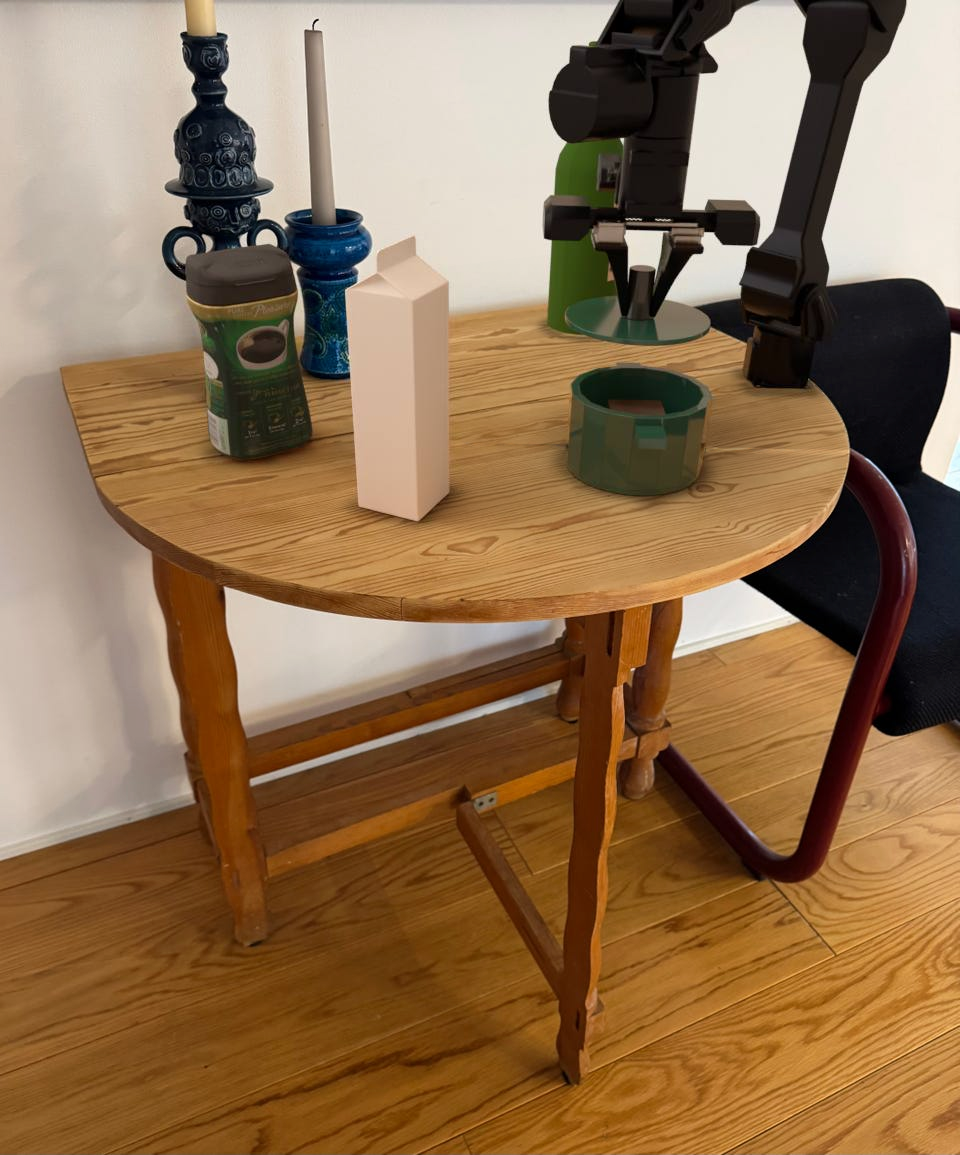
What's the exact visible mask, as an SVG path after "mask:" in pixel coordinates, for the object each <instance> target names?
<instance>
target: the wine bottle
mask: <svg viewBox="0 0 960 1155" xmlns="http://www.w3.org/2000/svg"><path fill="white" fill-rule="evenodd" d="M597 41H598V40H596V41H595V40H593V41H589V42H588V46H595V44H596V42H597ZM600 153H610V154H619V155H620V162H622V154H623V141H622V138H620V139H610V140H601V141H592V142H583V143H573V144H572V143H567V142H566V143H565V145H564V146H563V148H562V149H561V151H560V153H559V155H558V158H557V162H556V166H555V172H554V173H555V175H554V191H553V195H566V196H587V197H588V200H589V204H590V207H615V208H617V207H618V205H616V204H615V202H614V194H615V193H606V192H597V189H596V186H597V171H598V160H599V155H600ZM591 231H592V229H589V233H588V234H587V235H586V236H585V237H583V238H582V239H581V240H580V241H557V240H551V245H550V246H551V247H550V262H549V281H548V282H549V283H548V297H547V298H548V299H547V300H548V302H547V319H546V324H547V326H548V327H549V328H550V329H552V330H554V331H556V332H559V333H563V334H569V335H575V336H576V335H577V336H584V335H583V334H581V333H579V332H577V331H575V330H573V329H572V328H571V327H569V326H568V324H567V323H566V321H565V312H566V310H567V309H568V308H569V307H570V306H571V305H573V304H575V303H577V302H580V301H583V300H587V299H592V298H598V297H607V296H617V292H616V287H615V283H614V278H613V273H612V269H611V266H610V263H609V260H608V257H607V254H606V253H605V252H599V251H595V250H594V247H593V243H592V240H591Z"/></svg>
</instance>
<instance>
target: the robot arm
mask: <svg viewBox="0 0 960 1155" xmlns="http://www.w3.org/2000/svg"><path fill="white" fill-rule="evenodd" d="M759 1H760V0H618V2H617V4H616V6H615V7H614V10H613V11H612V13H611V15H610V16H609V18H608V20H607V22H606V24H605V26H604V28H603V30H602V31H601V34H600V35H599V37H598V39H597V40H596V41H597V42H596V44H595V46H589V45H585V44H583V45H582V44H577V45H576V44H574V45H571V46H570V47H569V57H568V63H566V64H565V65H564V66H563V67H562V68H560V70H559V72H558V73H557V74H556V76H555V78H554V81H553V84H552V87H551V89H550V90H549V92H548V100H547V102H548V114H549V119H550V123H551V125H552V128H553V129H554V131H555V133H556V135H557V136H558V137H559V138H560V140H562V141H564V142H566V143H572V144H573V143H583V142H592V141H601V140H610V139H623V142H622V144H623V154H622V162H620V155H619V154H610V153H600V155H599V160H598V171H597V186H596V189H597V192H606V193H615V194H614V202H615V204H616V205H618V207H617V208H615V207H590V204H589V200H588V197H587V196H566V195H554V194H550V195H549V196H548V197H547V198H546V199H545V200H544V201H543V205H542V206H543V207H542V234H543V240H547V241H552V240H557V241H580V240H581V239H582V238H583V237H585V236H586V235H587V234H588V233H589V229H592V231H591V240H592V243H593V247H594V250H595V251H599V252H605V253H606V254H607V257H608V260H609V263H610V266H611V269H612V273H613V278H614V283H615V287H616V292H617V297H618V302H619V307H620V312H621V316H624V317H625V316H626V312H627V306H628V278H629V245H628V242H627V241H626V238H625V236H626V232H627V231H644V232H646V231H647V232H662V240H661V248H660V257H659V260H658V265H657V269H656V273H655V282H654V290H653V299H652V307H651V317H655V316H656V315H657V313H658V311H659V309H660V307H661V305H662V303H663V301H664V299H665V300H666V297H667V296H668V294H669V292H670V291H671V288H672V287H673V284H674V283H675V281H676V279H677V278H678V276H679V275H680V274H681V272H682V271H683V269H684V268H685V267H686V265H687V263H688V262H689V261H690V259H691V258H692V256H695V255H703V254H704V252H705V247H704V245H703V243H702V238H704V236H705V233H710V234H711V233H712V234H713V235H714V236H715V237H716V239H717V240H718V241H719V242H720V244H721V245H722V246H734V247H735V246H736V247H737V246H738V247H750V248H749V250H748V252H747V253H746V258H745V264H744V270H743V272H742V276H741V278H740V280H739V283H738V285H739V286H740V302H741V311H742V323H744V324H746V325H752V326H754V327H753V328H754V329H753V335H752V337H748V338H747V341H746V347H745V353H744V359H743V363H742V371H741V372H742V374H743V376H744V377H745V378H746V380H747V381H748V382H750V383H751V385H752V387H754V388H756V389H779V390H780V389H781V390H782V389H784V390H786V389H788V390H812V389H813V386H812V385H811V384H810V382H809V379H810V374H811V369H812V364H813V359H814V355H815V350H816V345H817V342H825V341H826V338H827V337H829V336H831V334H832V332H833V330H834V328H835V325H836V323H837V320H838V318H839V316H838V313H837V312H836V310H835V308H834V306H833V303H832V300H831V299H830V297H829V295H828V293H827V286H828V279H829V273H830V263H829V260H828V257H827V253H826V249H825V246H824V241H823V236H824V230H825V227H826V224H827V220H828V216H829V211H830V208H831V204H832V200H833V197H834V194H835V188H836V187H837V182H838V179H839V176H840V175H839V174H840V171H841V167H842V164H843V160H844V156H845V153H846V148H847V144H848V142H849V138H850V134H851V130H852V128H853V127H852V126H853V123H854V119H855V116H856V111H857V108H858V104H859V100H860V98H861V93H862V90H863V86H864V83H865V82H866V80H868V78H869V77H870V76H871V75H872V73H874V71H875V70H876V69H877V68H878V67H879V65H880V64H881V63H882V62H883V61H884V60H885V58H886V57H887V56H888V55H889V53H890V51H891V48H892V46H893V43H894V41H895V38H896V35H897V32H898V30H899V27H900V25H901V23H902V21H903V19H904V17H905V13H906V9H907V5H908V4H907V3H908V2H907V1H908V0H793V2H794V4H795V5H796V6H797V9H799V11H800V13H801V14H802V15H803V17H804V19H805V20H804V28H803V34H802V42H801V43H802V49H803V52H804V57H805V60H806V63H807V68H808V71H809V74H810V77H809V83H808V86H807V91H806V95H805V99H804V104H803V107H802V111H801V115H800V120H799V124H798V126H797V127H798V128H797V132H796V136H795V140H794V144H793V149H792V152H791V155H790V156H791V157H790V160H789V165H788V168H787V173H786V177H785V181H784V186H783V190H782V193H781V198H780V201H779V206H778V210H777V214H776V219H775V222H774V227H773V228H772V231H771V233H770V234H769V235H768V236H767V237H766V238H765V240H764V241H763V242H762V243H761V244H760V245H759V246H758V247H757V246H756V245H758V241H759V235H760V230H761V216H760V215H759V213H758V212H757V210H755V209H754V208H753V206H751V204H749V203H748V202H747V200H745V199H743V200H742V199H713V198H712V199H707V201H706V204H705V206H704V209H685V208H684V202H685V193H686V185H687V177H688V170H689V165H690V164H689V163H690V157H691V156H690V155H691V146H692V140H693V131H694V124H695V115H696V107H697V100H698V92H699V85H700V78H701V77H700V76H701V75H703V74H704V75H705V74H715V73H717V72H718V71H719V70H718V69H719V64H718V62H717V60H716V59H715V58H714V56H712V54H710V53H709V50H708V49H707V47H706V43H705V42H706V41H708V40H709V39H711V38H713V37H714V36H715V35H717V34H718V33H720V32H721V31H723V30H724V29H725V28H727V27H728V26H730V24H731V23H732V21H733V18H734V16H735V14H736V12H738V11H739V10H741V9H742V8H744V7H746V6H749V5H752V4H755V3H757V2H759Z"/></svg>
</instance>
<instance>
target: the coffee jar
mask: <svg viewBox="0 0 960 1155" xmlns="http://www.w3.org/2000/svg"><path fill="white" fill-rule="evenodd" d="M184 266H185V267H184V269H185V270H184V275H185V291H186V293H185V297H186V301H187V305H188V306H189V309H190V311H191V312H192V315H193V316H194V318H195V319H196V321H197V323H198V327H199V333H200V337H201V344H202V345H201V346H202V350H203V363H204V379H205V381H204V382H205V396H206V397H205V398H206V399H205V401H206V418H207V419H206V421H207V429H208V436H209V441H210V444H212V446H213V447H214V449H215V451H217V452H218V453H219V454H221V456H224V457H227V458H231V459H235V460H238V461H249V460H254V459H260V458H265V457H269V456H270V457H271V456H273V455H278V454H280V453H286V452H288V451H292V450H295V449H298V448H300V447H303V446H305V445H306V444H308V443H309V441H310V440H311V439H312V436H313V433H314V431H313V423H312V418H311V417H312V416H311V411H310V408H309V407H310V406H309V403H308V398H307V394H306V389H305V384H304V380H303V375H302V371H301V370H302V369H301V366H300V361H299V360H300V359H299V356H298V349H297V342H296V336H295V335H296V334H295V312H296V307H297V304H298V299H299V288H298V285H297V282H296V276H295V274H294V268H293V264H292V261H291V258H290V256H289V254H288V253H287V252H286V251H284V250H283V249H281V248H279V247H278V246H276V245H274V244H271V243H264V244H257V245H248V246H242V247H241V246H240V247H233V248H225V249H220V250H214V251H208V252H201V253H194V254H193V253H192V254H189V255H188V256H186V259H185V265H184Z"/></svg>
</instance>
